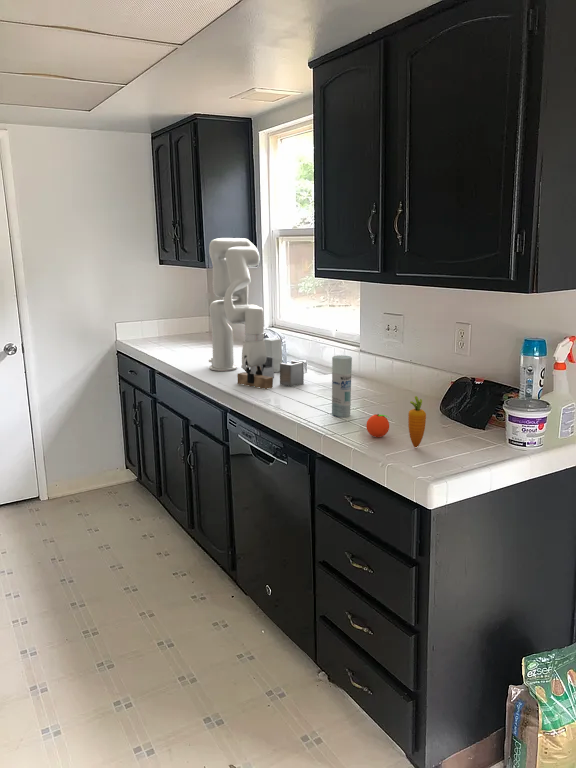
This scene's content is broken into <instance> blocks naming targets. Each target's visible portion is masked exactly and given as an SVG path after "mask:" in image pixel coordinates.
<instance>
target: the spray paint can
mask: <svg viewBox="0 0 576 768" xmlns="http://www.w3.org/2000/svg"><path fill="white" fill-rule="evenodd" d="M331 362H332V363H331V364H332V365H331V370H332V371H331V378H332V379H331V415H332V416H333V417H335V416H336V418H347V417H348V418H349V417H350V416H351V402H352V401H351V400H352V399H351V398H352V367H353V364H352V363H353V357H352V356H349V355H342V354H341V355H334V356H332V361H331Z"/></svg>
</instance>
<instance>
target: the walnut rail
mask: <svg viewBox="0 0 576 768" xmlns="http://www.w3.org/2000/svg"><path fill="white" fill-rule="evenodd" d="M273 379H274V378H273V377H268V376H263V375H257V374H254V383H253V384H252V383H248V382H247V373H246V371H244V372H243V371H242V372H238V373H237V384H238V385H241V384H244V385H243V386H246V385H249V386H248V387H251V386H255V387H254V388H257V387H260V388H259V389H262V388H265V389H264V390H268V389H267V388H270V389H272V387H273V386H274V385H273V383H274V380H273ZM273 388H274V387H273Z"/></svg>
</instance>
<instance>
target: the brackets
mask: <svg viewBox="0 0 576 768" xmlns="http://www.w3.org/2000/svg"><path fill="white" fill-rule="evenodd" d="M266 360H267V362H268V363H267V365H266V366H265V368H264V369H263V370H264V371H263V372H262V375H263V376H268V377H273V379H274V378H275V372H274V357H268V356H266ZM290 361H291V363H285V362H282V363H280V372H279V385H280V386H284V387H288V388H289V387H290V388H292V387H295V386H296V385H297V386H300V384H301V385H304V384H303V383H304V381H305V379H304V378H305V375H304V374H305V373H304V372H305V366H304V364H305V363H304V362H303V361H296V360H290ZM259 367H260V366H259ZM256 371H257V368H256V366H254V367H253V373H252V374H256Z"/></svg>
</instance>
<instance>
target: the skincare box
mask: <svg viewBox="0 0 576 768" xmlns="http://www.w3.org/2000/svg"><path fill="white" fill-rule="evenodd" d="M264 341H265V347H266V356H268V357H274V373H277V372H278V373H280V372H279V371H280V363H283V349H282V338H277V337H266V338H264Z"/></svg>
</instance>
